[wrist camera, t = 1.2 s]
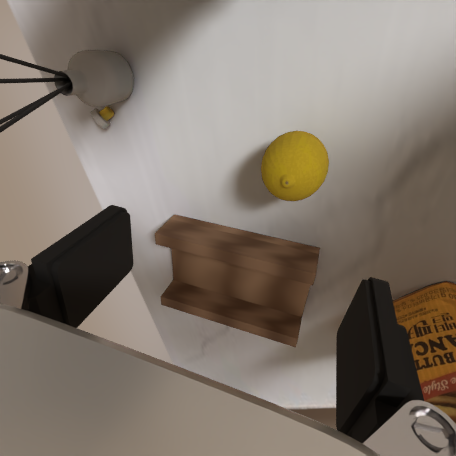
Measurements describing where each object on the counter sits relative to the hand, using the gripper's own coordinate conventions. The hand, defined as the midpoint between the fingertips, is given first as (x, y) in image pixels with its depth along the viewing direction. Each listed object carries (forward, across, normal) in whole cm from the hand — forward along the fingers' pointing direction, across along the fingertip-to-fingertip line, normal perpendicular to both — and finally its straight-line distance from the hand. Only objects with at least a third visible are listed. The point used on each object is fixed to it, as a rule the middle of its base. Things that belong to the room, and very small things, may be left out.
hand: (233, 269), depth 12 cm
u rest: (+21, +3, +17) cm, 27 cm away
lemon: (+20, -1, +1) cm, 21 cm away
